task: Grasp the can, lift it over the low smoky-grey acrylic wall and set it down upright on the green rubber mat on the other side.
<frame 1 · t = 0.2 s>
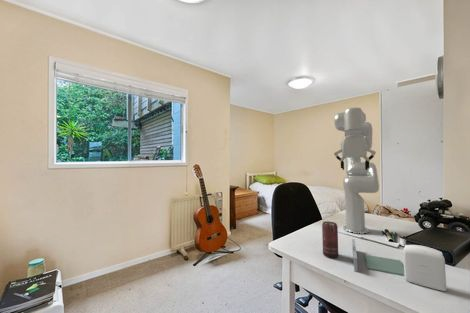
hand: (354, 169, 99), 36 cm above the table, tool pointing down, fingers open, 9 cm apart
can: (330, 255, 89), on the table
photo printer: (424, 284, 68), on the table
acrylic wall: (354, 259, 85), on the table
mat: (384, 265, 81), on the table
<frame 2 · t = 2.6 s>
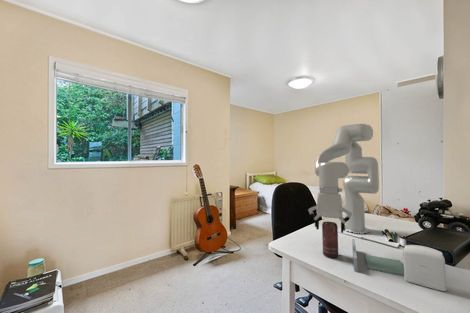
hand: (329, 230, 89), 11 cm above the table, tool pointing down, fingers open, 9 cm apart
nothing on the table moved.
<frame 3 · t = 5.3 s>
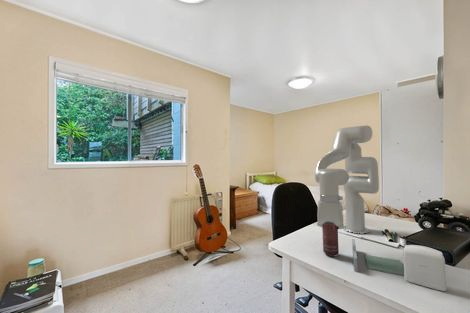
hand: (330, 240, 90), 6 cm above the table, tool pointing down, fingers closed
can: (331, 253, 90), point 1 cm above the table, touching gripper
everything else where it was.
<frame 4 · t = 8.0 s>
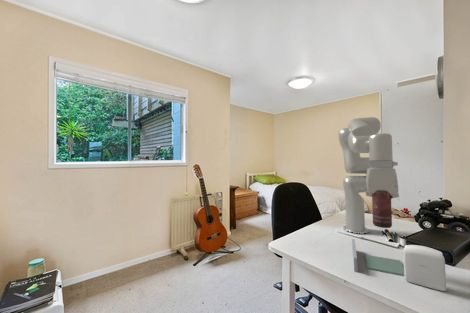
hand: (382, 211, 81), 21 cm above the table, tool pointing down, fingers closed
can: (382, 226, 81), point 15 cm above the table, touching gripper
everything else where it was.
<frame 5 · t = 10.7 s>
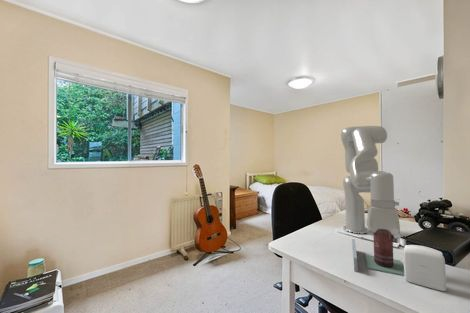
hand: (383, 251, 81), 5 cm above the table, tool pointing down, fingers closed
can: (384, 264, 80), resting on mat
everything else where it was.
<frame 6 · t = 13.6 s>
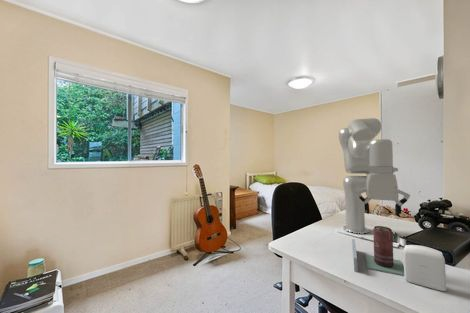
hand: (382, 214, 81), 20 cm above the table, tool pointing down, fingers open, 9 cm apart
nothing on the table moved.
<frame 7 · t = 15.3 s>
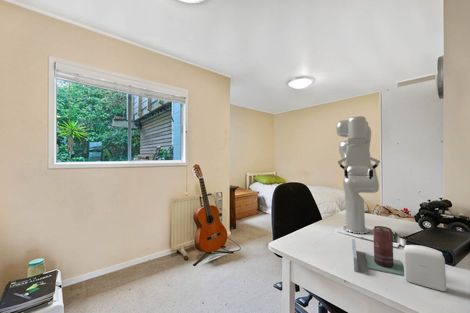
hand: (358, 178, 99), 32 cm above the table, tool pointing down, fingers open, 9 cm apart
nothing on the table moved.
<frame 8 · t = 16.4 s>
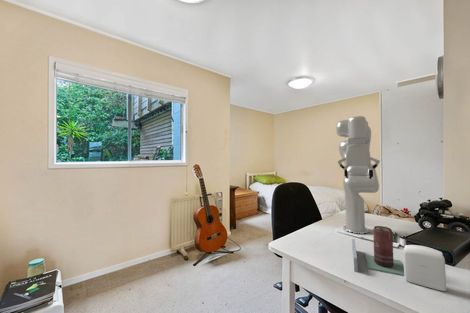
hand: (358, 178, 99), 32 cm above the table, tool pointing down, fingers open, 9 cm apart
nothing on the table moved.
at the end: can inside the target area on the mat (0.4 cm from its centre), point 0.3 cm above the mat's base; can tilted 0°; the gripper is holding nothing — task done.
